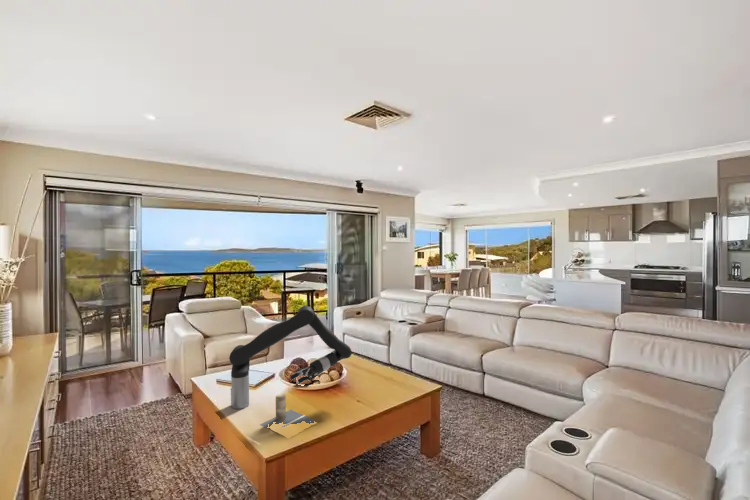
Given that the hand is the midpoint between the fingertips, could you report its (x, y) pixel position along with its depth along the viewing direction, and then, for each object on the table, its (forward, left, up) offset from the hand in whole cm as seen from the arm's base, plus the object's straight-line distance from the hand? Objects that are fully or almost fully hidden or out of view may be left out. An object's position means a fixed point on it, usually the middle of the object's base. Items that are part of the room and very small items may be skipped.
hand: (294, 379), depth 197 cm
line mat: (+5, -8, -19) cm, 21 cm away
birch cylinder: (-2, -8, -18) cm, 20 cm away
